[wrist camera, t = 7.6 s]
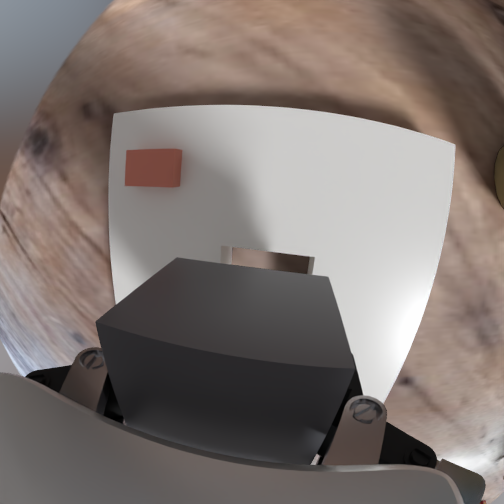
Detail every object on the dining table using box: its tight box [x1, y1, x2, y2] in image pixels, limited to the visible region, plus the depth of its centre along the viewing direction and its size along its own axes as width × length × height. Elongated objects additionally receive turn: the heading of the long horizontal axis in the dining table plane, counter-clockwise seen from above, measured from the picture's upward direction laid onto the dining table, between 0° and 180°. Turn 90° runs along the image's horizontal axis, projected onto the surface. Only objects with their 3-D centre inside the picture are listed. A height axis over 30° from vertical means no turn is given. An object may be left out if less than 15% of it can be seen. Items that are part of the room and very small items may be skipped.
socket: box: [108, 105, 455, 403], centre depth 16 cm, size 20×20×4 cm
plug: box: [96, 257, 355, 465], centre depth 10 cm, size 9×6×8 cm, turn 175°
